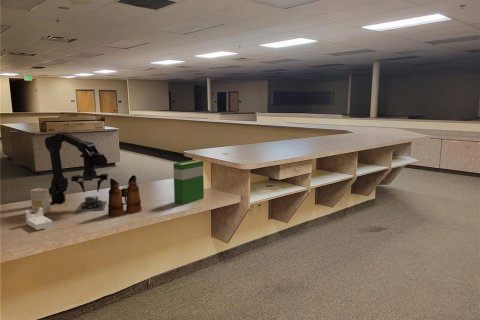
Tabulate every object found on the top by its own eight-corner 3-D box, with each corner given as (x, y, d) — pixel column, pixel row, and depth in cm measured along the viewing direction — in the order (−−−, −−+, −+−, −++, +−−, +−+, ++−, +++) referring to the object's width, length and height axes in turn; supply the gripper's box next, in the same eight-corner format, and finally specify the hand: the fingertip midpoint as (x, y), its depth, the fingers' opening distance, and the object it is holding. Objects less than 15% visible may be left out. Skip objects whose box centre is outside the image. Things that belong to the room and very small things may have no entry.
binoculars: (111, 218, 176) (108, 180, 173) (105, 214, 183) (103, 178, 179) (144, 211, 188) (142, 176, 185) (138, 207, 194) (136, 173, 191)
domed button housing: (84, 207, 190) (84, 198, 189) (86, 204, 196) (85, 195, 195) (97, 206, 192) (97, 197, 191) (99, 203, 197) (98, 195, 196)
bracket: (26, 225, 166) (25, 210, 165) (42, 221, 172) (40, 207, 170) (36, 232, 158) (35, 216, 157) (52, 227, 163) (51, 212, 162)
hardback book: (195, 196, 218) (194, 159, 214) (203, 198, 214) (203, 160, 209) (174, 202, 204) (173, 163, 200) (182, 204, 200) (182, 165, 196)
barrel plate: (76, 211, 186) (76, 207, 185) (81, 204, 199) (81, 200, 199) (103, 210, 189) (103, 205, 189) (106, 202, 202) (106, 198, 202)
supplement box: (51, 212, 185) (49, 189, 183) (43, 214, 180) (41, 191, 178) (39, 210, 188) (37, 187, 185) (32, 213, 183) (29, 189, 181)
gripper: (67, 168, 180) (70, 197, 182) (105, 167, 184) (106, 194, 187) (72, 164, 190) (74, 191, 193) (107, 163, 195) (109, 189, 198)
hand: (91, 192), depth 192 cm, fingers open, 7 cm apart
